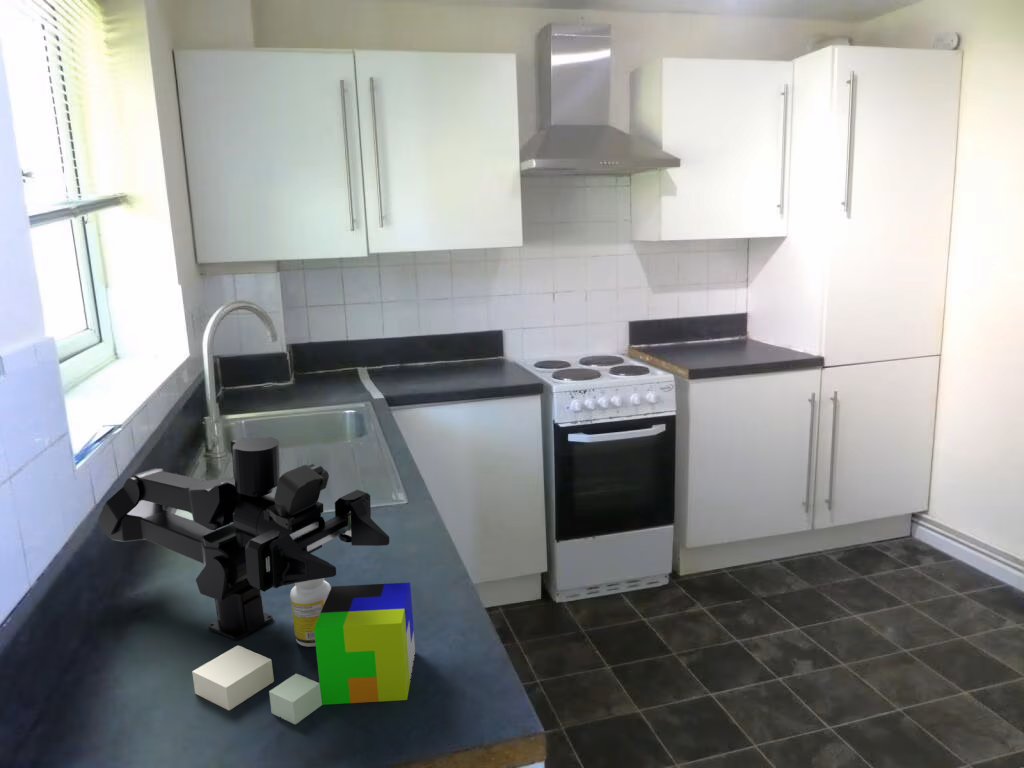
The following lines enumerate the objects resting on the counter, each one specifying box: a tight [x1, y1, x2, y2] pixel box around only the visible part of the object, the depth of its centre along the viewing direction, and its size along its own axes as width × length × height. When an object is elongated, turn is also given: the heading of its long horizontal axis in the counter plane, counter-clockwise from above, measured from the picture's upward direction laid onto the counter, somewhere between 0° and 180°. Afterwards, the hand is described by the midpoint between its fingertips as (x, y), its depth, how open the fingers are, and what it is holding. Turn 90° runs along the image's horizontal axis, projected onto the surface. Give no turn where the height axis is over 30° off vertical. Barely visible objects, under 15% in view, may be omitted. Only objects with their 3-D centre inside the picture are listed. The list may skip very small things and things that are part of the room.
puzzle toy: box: [314, 581, 416, 706], centre depth 90 cm, size 10×10×10 cm
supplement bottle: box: [289, 578, 332, 648], centre depth 99 cm, size 5×5×10 cm
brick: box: [268, 673, 323, 725], centre depth 85 cm, size 4×4×3 cm
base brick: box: [191, 645, 275, 711], centre depth 89 cm, size 6×6×3 cm
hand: (363, 555), depth 88 cm, fingers open, 9 cm apart
